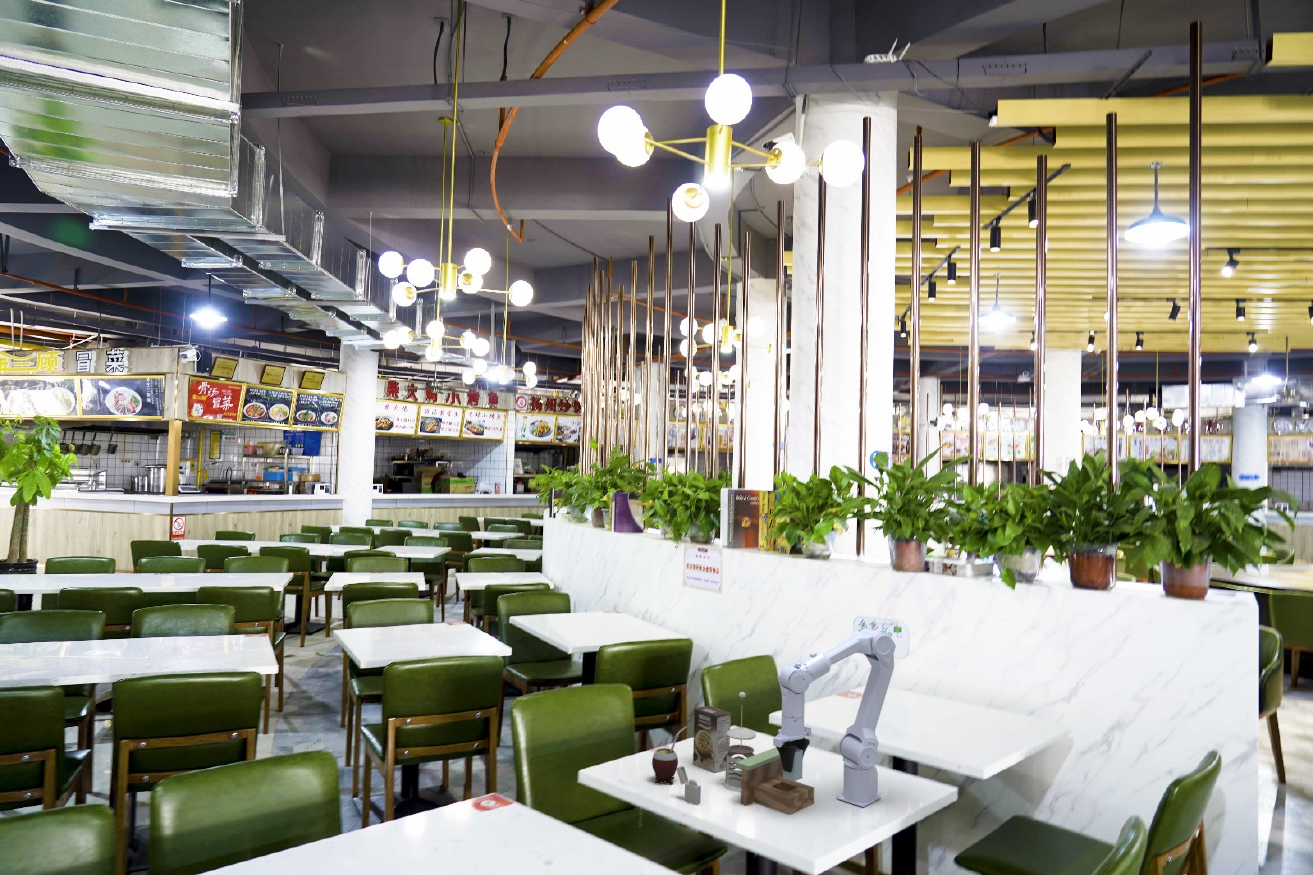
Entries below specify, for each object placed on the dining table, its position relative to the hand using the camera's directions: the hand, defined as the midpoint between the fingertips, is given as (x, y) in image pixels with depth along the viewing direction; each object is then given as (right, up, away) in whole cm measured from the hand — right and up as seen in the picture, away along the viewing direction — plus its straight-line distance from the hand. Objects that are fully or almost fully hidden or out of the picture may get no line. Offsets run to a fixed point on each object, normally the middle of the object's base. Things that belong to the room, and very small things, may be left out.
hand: (791, 769), depth 211 cm
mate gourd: (-32, -10, +15) cm, 37 cm away
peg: (0, -2, 0) cm, 2 cm away
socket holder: (-3, -10, +4) cm, 11 cm away
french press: (-13, -10, +14) cm, 21 cm away
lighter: (-26, -9, +2) cm, 28 cm away
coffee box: (-19, -11, +28) cm, 35 cm away
